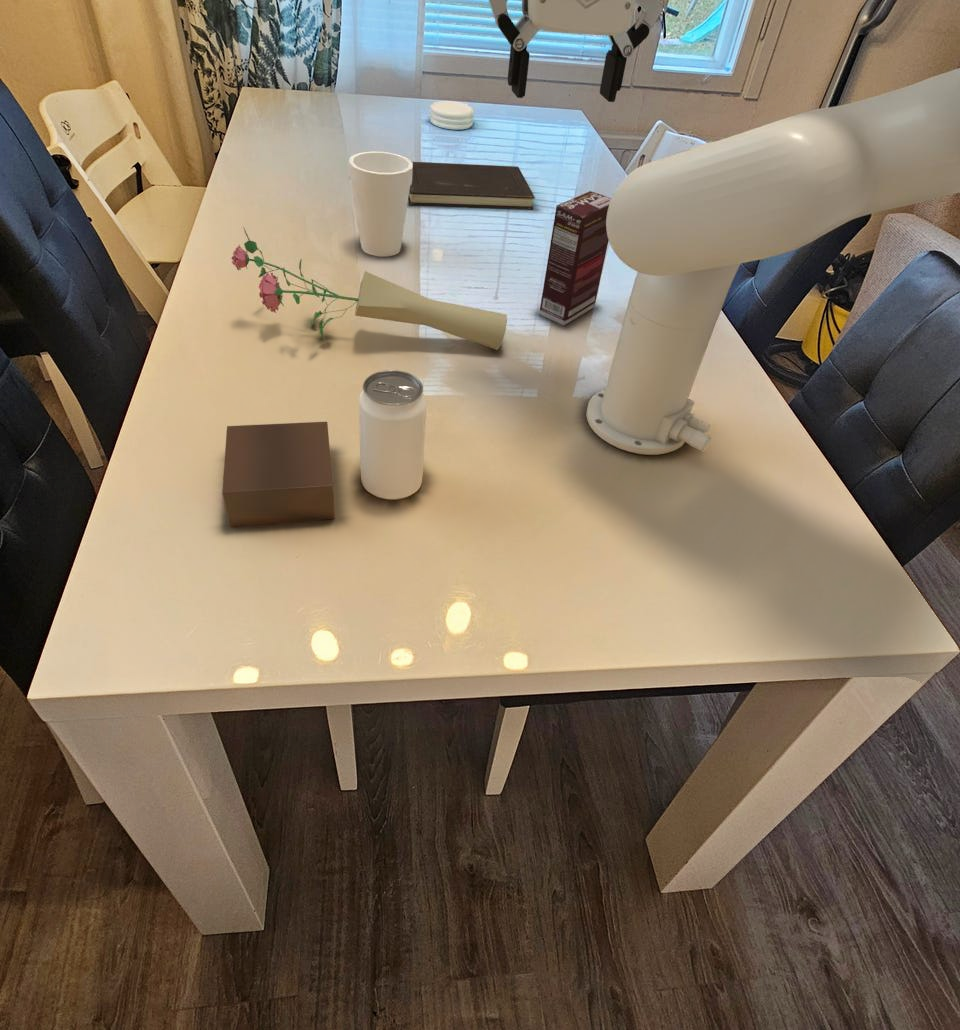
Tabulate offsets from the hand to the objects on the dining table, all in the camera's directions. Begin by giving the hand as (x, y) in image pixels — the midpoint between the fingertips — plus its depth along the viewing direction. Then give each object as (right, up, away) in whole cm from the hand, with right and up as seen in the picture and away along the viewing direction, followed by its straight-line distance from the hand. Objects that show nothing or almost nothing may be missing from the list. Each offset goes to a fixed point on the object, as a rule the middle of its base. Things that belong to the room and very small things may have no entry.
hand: (562, 96), depth 73 cm
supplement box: (+4, -13, +32) cm, 35 cm away
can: (-18, -40, +2) cm, 44 cm away
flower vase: (-23, -20, +22) cm, 37 cm away
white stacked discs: (-15, +47, +90) cm, 103 cm away
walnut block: (-29, -41, -1) cm, 50 cm away
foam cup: (-25, 0, +41) cm, 48 cm away
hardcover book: (-11, +19, +62) cm, 65 cm away
